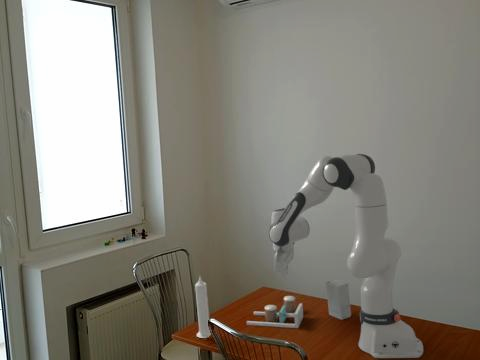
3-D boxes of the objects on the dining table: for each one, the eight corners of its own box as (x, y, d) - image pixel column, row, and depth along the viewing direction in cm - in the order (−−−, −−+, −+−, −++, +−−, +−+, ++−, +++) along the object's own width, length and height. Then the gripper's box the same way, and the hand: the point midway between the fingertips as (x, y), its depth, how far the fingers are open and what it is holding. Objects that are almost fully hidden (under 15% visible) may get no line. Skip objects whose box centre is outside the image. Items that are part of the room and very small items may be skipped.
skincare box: (351, 316, 202) (349, 283, 200) (340, 320, 199) (338, 286, 197) (338, 310, 209) (336, 278, 207) (327, 314, 206) (325, 281, 204)
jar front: (278, 318, 206) (277, 305, 205) (275, 323, 201) (274, 309, 200) (267, 317, 208) (266, 304, 207) (264, 322, 203) (263, 309, 202)
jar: (295, 308, 215) (295, 295, 214) (295, 313, 210) (295, 300, 209) (284, 308, 216) (283, 295, 215) (283, 313, 211) (283, 300, 210)
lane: (303, 316, 206) (302, 303, 205) (298, 328, 195) (297, 314, 194) (254, 313, 213) (253, 301, 212) (246, 324, 202) (245, 311, 201)
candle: (203, 330, 200) (197, 272, 197) (217, 333, 196) (212, 274, 193) (193, 337, 194) (187, 278, 191) (207, 340, 190) (202, 280, 187)
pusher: (291, 317, 205) (290, 305, 205) (287, 324, 198) (286, 312, 198) (283, 316, 207) (283, 305, 206) (279, 324, 199) (278, 312, 199)
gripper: (284, 251, 198) (286, 283, 199) (295, 239, 217) (297, 268, 218) (269, 251, 200) (271, 283, 202) (281, 239, 219) (283, 268, 221)
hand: (285, 275), depth 210 cm, fingers closed
